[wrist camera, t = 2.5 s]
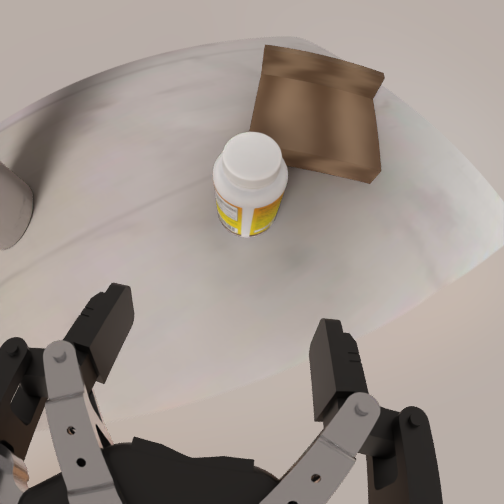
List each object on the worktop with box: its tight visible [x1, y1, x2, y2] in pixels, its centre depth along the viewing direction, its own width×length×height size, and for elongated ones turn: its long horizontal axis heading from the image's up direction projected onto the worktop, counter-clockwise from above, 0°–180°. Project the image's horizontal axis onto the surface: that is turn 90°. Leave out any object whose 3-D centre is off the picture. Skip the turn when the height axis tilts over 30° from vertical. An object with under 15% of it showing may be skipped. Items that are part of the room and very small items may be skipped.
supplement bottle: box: [213, 132, 288, 237], centre depth 23 cm, size 6×6×10 cm
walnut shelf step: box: [249, 45, 384, 184], centre depth 28 cm, size 14×12×7 cm
